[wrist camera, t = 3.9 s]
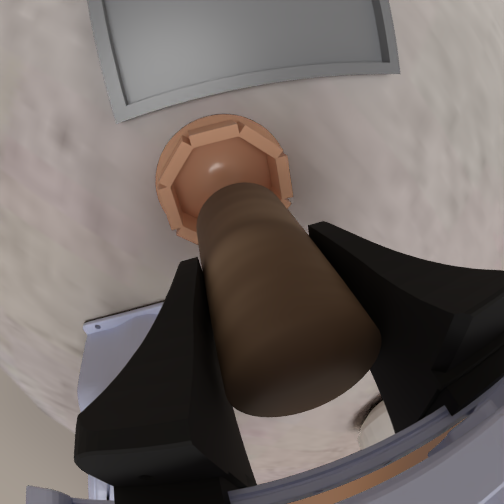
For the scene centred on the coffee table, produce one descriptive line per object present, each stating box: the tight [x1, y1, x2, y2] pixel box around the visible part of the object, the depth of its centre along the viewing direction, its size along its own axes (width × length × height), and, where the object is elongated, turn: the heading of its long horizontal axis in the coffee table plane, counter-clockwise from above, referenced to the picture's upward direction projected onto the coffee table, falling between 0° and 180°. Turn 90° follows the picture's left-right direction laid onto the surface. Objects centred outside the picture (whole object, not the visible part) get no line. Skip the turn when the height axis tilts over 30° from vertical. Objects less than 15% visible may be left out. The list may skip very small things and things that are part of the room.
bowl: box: [358, 401, 395, 450], centre depth 43 cm, size 20×20×8 cm
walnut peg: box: [196, 182, 382, 417], centre depth 10 cm, size 4×4×8 cm
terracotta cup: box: [156, 114, 293, 245], centre depth 18 cm, size 8×8×2 cm
